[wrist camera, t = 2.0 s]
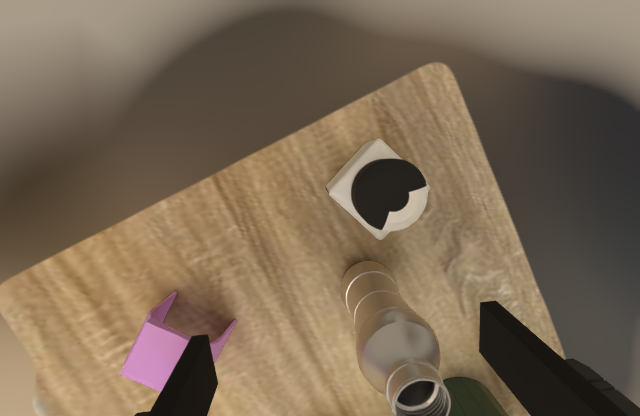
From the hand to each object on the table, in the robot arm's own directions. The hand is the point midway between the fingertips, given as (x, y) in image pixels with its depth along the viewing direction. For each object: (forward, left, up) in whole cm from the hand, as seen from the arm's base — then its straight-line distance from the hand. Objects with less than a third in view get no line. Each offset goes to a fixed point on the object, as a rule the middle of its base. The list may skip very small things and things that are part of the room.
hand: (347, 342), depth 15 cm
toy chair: (+7, +18, -23) cm, 30 cm away
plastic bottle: (-8, +2, -23) cm, 24 cm away
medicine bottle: (-1, -8, -23) cm, 24 cm away
